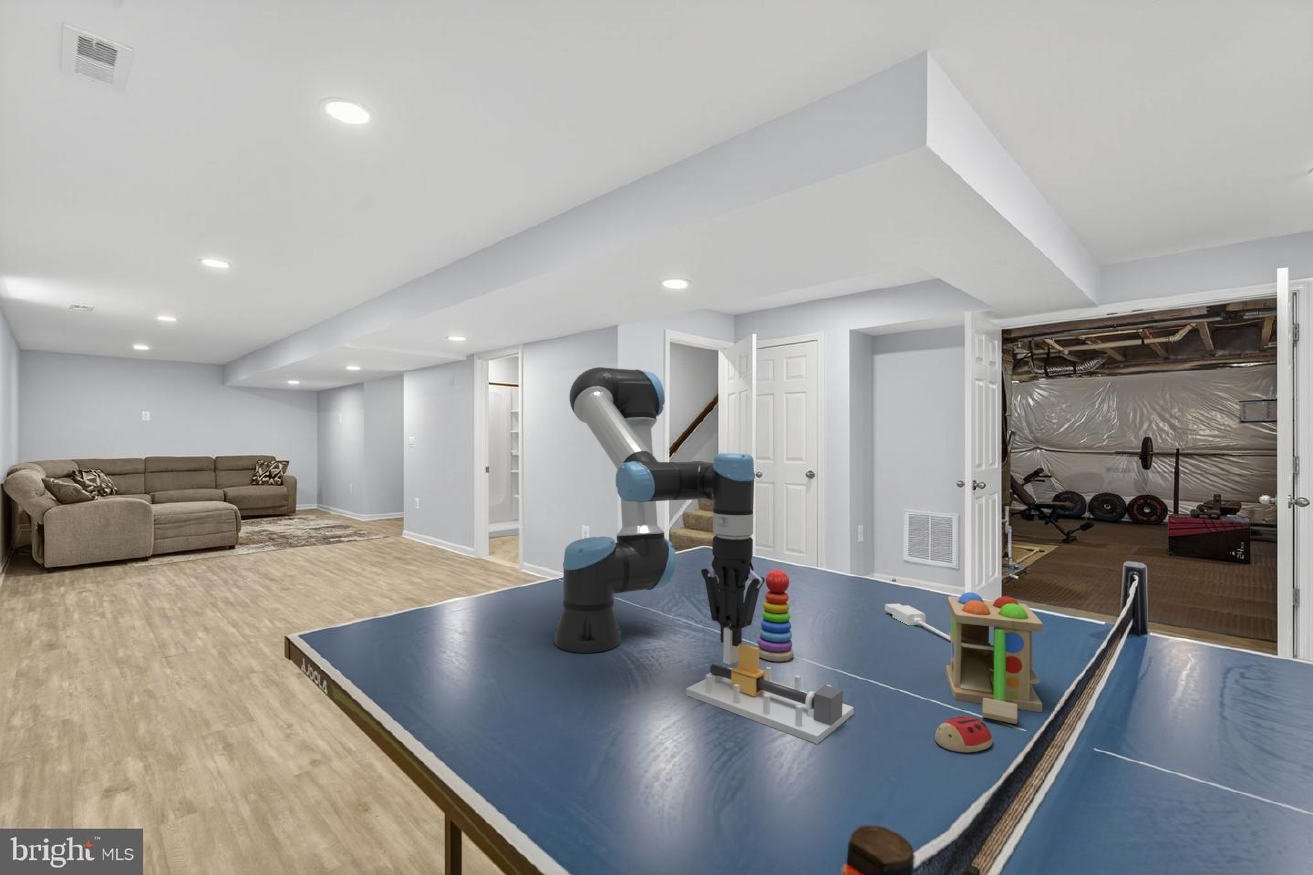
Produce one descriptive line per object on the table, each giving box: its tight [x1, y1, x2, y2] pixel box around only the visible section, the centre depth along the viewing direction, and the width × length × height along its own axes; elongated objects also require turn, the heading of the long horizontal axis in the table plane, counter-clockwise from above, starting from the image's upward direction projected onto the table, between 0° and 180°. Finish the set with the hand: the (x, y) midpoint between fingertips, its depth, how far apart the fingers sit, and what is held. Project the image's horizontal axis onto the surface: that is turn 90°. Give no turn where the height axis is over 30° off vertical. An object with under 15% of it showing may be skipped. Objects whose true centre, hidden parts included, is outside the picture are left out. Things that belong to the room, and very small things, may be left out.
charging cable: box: [884, 603, 951, 642], centre depth 151 cm, size 5×32×3 cm, turn 12°
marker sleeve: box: [731, 643, 766, 696], centre depth 111 cm, size 5×4×8 cm
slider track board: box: [685, 663, 855, 745], centre depth 108 cm, size 26×14×6 cm, turn 49°
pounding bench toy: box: [945, 591, 1044, 725], centre depth 112 cm, size 23×14×18 cm, turn 160°
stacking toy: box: [756, 569, 795, 662], centre depth 132 cm, size 8×8×19 cm
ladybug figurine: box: [934, 716, 993, 753], centre depth 96 cm, size 7×10×4 cm
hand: (730, 661), depth 113 cm, fingers closed
